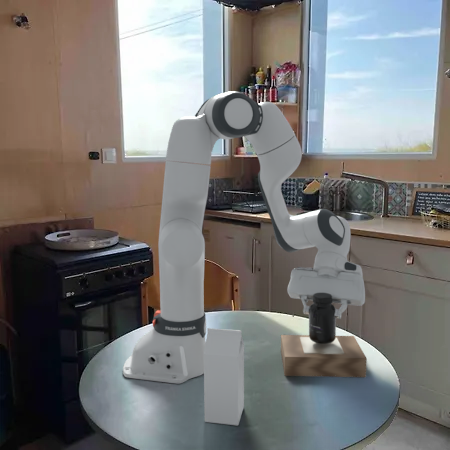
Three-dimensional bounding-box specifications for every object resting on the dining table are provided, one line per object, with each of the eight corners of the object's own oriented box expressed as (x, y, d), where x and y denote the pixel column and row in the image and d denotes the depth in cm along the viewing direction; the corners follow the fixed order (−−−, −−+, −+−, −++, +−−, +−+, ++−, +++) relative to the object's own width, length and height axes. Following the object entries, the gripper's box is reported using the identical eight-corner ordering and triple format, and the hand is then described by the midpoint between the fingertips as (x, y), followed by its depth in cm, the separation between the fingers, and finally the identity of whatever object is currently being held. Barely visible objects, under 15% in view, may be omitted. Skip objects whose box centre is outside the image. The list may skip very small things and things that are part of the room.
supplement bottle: (308, 343, 117) (308, 299, 114) (309, 333, 123) (308, 290, 121) (336, 345, 115) (336, 299, 113) (335, 334, 122) (335, 291, 120)
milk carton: (238, 426, 92) (238, 337, 90) (204, 422, 94) (203, 334, 91) (244, 407, 99) (244, 324, 96) (212, 404, 101) (211, 322, 98)
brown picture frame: (284, 375, 114) (284, 355, 113) (280, 351, 127) (281, 333, 127) (365, 377, 112) (366, 357, 112) (353, 353, 126) (353, 334, 126)
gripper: (290, 260, 126) (280, 304, 119) (367, 266, 119) (361, 314, 111) (294, 272, 131) (284, 315, 124) (368, 279, 123) (362, 325, 116)
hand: (321, 315), depth 117 cm, fingers closed on supplement bottle, 7 cm apart
